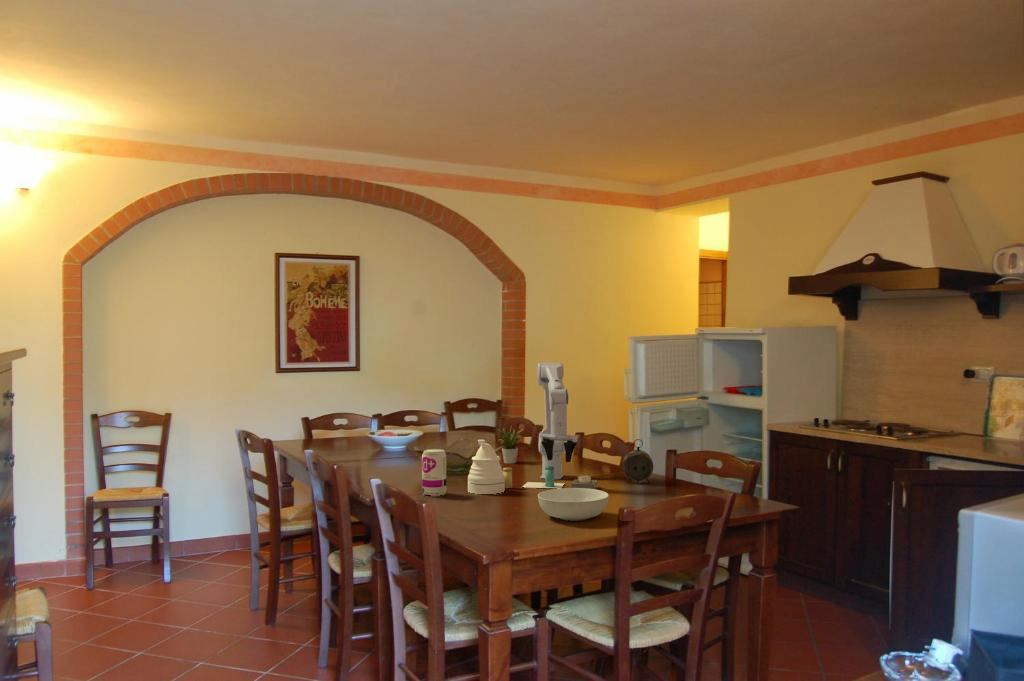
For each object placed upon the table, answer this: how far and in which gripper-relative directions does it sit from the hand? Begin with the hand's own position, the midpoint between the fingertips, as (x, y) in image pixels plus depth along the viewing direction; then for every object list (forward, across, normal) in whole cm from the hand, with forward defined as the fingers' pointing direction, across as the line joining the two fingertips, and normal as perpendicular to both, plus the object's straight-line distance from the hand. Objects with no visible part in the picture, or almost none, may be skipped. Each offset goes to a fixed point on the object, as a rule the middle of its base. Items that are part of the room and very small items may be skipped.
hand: (559, 461), depth 267 cm
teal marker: (+9, -3, -1) cm, 10 cm away
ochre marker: (+10, -15, -11) cm, 21 cm away
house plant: (+10, -49, +35) cm, 61 cm away
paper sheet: (+9, -6, -1) cm, 11 cm away
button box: (+10, +8, +3) cm, 13 cm away
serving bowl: (+10, +28, -36) cm, 47 cm away
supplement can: (+10, -28, -34) cm, 46 cm away
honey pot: (+10, -17, -20) cm, 28 cm away
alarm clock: (+10, +19, +23) cm, 32 cm away
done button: (+8, +8, +3) cm, 12 cm away
